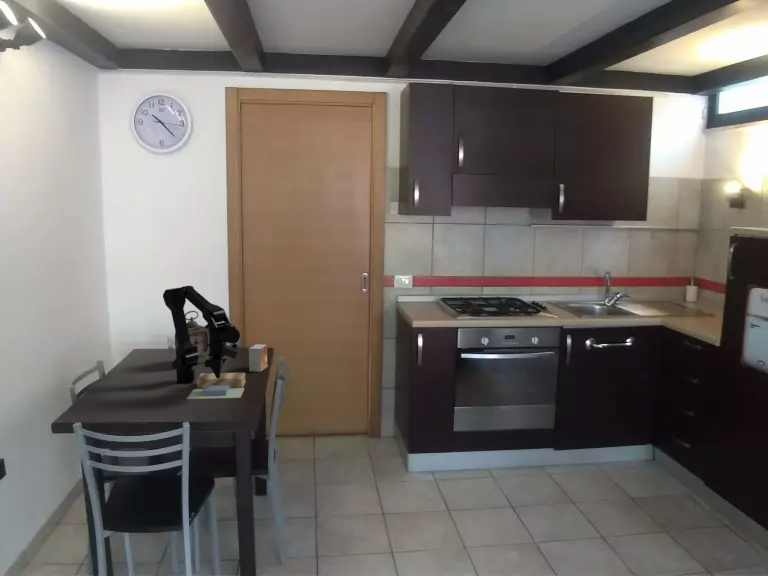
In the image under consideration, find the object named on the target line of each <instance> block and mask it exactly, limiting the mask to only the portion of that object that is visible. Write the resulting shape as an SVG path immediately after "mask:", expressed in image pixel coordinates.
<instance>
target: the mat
mask: <svg viewBox="0 0 768 576" xmlns="http://www.w3.org/2000/svg"><path fill="white" fill-rule="evenodd" d="M244 390H245V387H243V388H229V392H228V393H227V395H214V396H203V389H197V388H194V389H193V390H192V391H191V393H189V395H188V396H187V398H186V400H213V399H214V400H216V399H217V400H218V399H221V400H223V399H240V398H241V397H242V395H243V393H244Z"/></svg>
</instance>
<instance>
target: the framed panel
mask: <svg viewBox="0 0 768 576" xmlns="http://www.w3.org/2000/svg"><path fill="white" fill-rule="evenodd" d="M245 384H246V372H221V374H220V378H216V376H215V374H214V372H209V373H208V372H207V373H203V372H202V373H200V375H198V377H197V378H196V389H204V388H205V387H206V386H222V385H229V388H244V386H245Z"/></svg>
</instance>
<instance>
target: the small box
mask: <svg viewBox="0 0 768 576" xmlns="http://www.w3.org/2000/svg"><path fill="white" fill-rule="evenodd" d="M267 368H268V345H267V344H258V343H257V344H256V343H255V344H254V345H253V346H250V347H249V348H248V369H249V372H257V373H259V372H260V373H261V372H262V371H263V370H265V369H267Z"/></svg>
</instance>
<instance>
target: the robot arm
mask: <svg viewBox="0 0 768 576" xmlns="http://www.w3.org/2000/svg"><path fill="white" fill-rule="evenodd" d="M162 298H163V301H164V304H165V305H164V306H166V307H167V309H168V310H169V311H170V313H171V316H172V323H173V326H174V331H175V332H176V337H177V341H178V347H177V350H175V359H174V360H173V361H172V363H171V366H172V369H173V370H176V382H175V384H177V385H178V384H179V385H180V384H182V385H183V384H193V382H194V381H195V380H196V370H195V369H194V367H196V366H197V365H198V361H199V359H200V358H199V357H198V355H199V353H198V350H197V346H196V345H195V346H194V345H193V344H192V343H191V341H190V337H189V332H188V327H187V320H186V318H185V314H186V313H185V304H186V302H187V301H188V302H189V303H191V304H192V305H193V306H194V307H195V308H196V309H198V311H200V312H201V314H202V318H203V320H204V321H205V322H206V323H207V324H206V325H205V328H208V329H209V344H208V347H209V349H210V353H209V355H208V358H206V359H207V360H206V361H205V360H204V367H205V368H211V371H212V373H214V374H215V376H216V378H220V374H221V373H222V368H223V365H224V364H225V362H226V361H227V360H228V359H227V358H224V357H225V356H226V357H229V358H232V360H233V359H234V360H236V359H237V358H238V356H239V352H240V350H241V349H240V347H239V346H238V344H237V343H238V342H239V340H240V338H241V333H240V331H239V330H238V329H237V327H236V325H232V322H231V320H230V318H229V317H228V314H227V312H226V310H225V309H224V308H223V307H221V306H220V305H217V304H214V303H211V302H210V301H209V300H208V299H206V298H205V297H204V296H203V295H202V294H201V293H199V292H198V291H197V290H196V289H195V287H194V286H192V285H183V286H181V287H176V288H175V287H173V288H168V289H165V290H164V292H163V293H162ZM175 332H174V333H175ZM227 343H229V344H227ZM230 344H232V345H230ZM198 358H199V359H198Z"/></svg>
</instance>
